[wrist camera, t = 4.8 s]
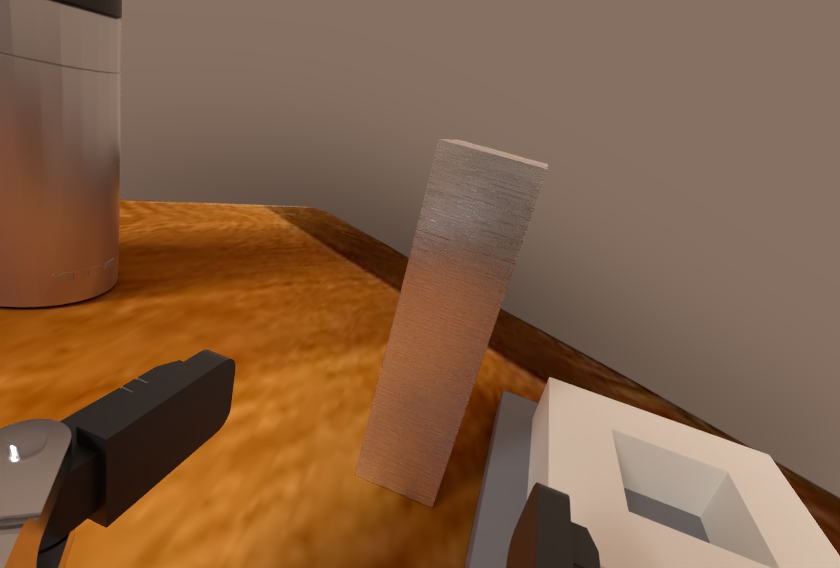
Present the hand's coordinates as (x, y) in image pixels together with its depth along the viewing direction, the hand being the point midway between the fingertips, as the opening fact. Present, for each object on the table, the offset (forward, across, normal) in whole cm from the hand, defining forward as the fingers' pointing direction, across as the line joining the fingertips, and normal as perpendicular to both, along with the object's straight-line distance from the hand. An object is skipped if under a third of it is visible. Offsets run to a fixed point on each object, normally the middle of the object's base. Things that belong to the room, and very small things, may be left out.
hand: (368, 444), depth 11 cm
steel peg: (+10, 0, +9) cm, 13 cm away
